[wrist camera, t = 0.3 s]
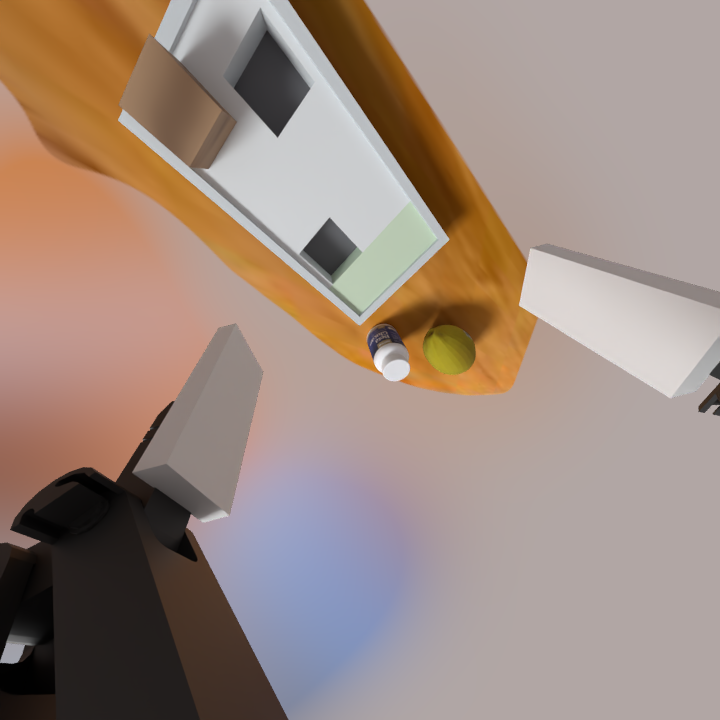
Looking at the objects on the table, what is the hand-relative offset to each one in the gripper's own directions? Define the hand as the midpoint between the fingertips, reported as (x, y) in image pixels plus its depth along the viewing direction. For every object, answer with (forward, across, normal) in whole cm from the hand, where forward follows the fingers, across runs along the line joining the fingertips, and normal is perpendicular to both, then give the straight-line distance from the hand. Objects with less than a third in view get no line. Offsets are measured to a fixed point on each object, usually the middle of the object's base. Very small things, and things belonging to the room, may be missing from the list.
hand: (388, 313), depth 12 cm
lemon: (+27, +14, -22) cm, 37 cm away
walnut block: (+23, -10, +12) cm, 28 cm away
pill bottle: (+27, +3, -18) cm, 33 cm away
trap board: (+27, -2, +4) cm, 27 cm away
